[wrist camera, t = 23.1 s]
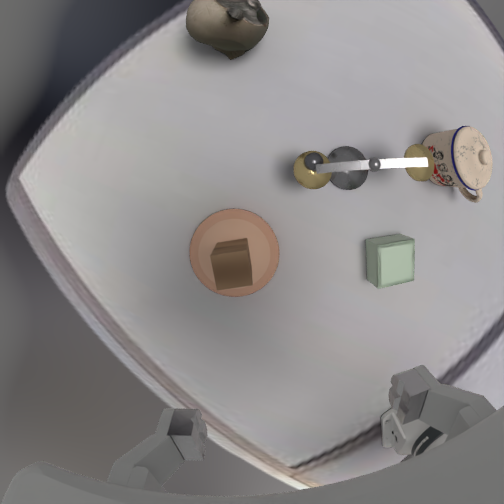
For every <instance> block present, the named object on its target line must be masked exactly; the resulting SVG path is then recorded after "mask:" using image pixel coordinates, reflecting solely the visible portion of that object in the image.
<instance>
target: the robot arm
mask: <svg viewBox="0 0 504 504" xmlns="http://www.w3.org/2000/svg"><path fill="white" fill-rule="evenodd" d="M391 383H392V385H393V386H392V387H391V388H390V389H389V402H390V404H391V406H392V408H391V409H390V410H389V411H387V412H386V413H385V414H383V415H382V417H381V429H382V446H383V447H384V448H392V447H394V449H395V451H396V452H397V454H399V455H413V456H414V457H413V458H410V459H408V460H406V461H403V462H401V463H398V464H395V465H393V466H390V467H387V468H385V469H382V470H379V471H376V472H373V473H370V474H366V475H363V476H360V477H356V478H353V479H349V480H345V481H341V482H337V483H333V484H329V485H324V486H319V487H314V488H308V489H303V490H297V491H290V492H282V493H273V494H263V495H249V496H197V495H182V494H171V493H168V492H167V491H166V490H165V489H164V488H163V487H162V485H163V484H164V483H165V482H166V481H167V480H168V479H169V478H170V477H171V476H172V474H174V472H175V471H176V470H177V469H178V468H179V467H180V466H181V465H182V464H183V463H184V460H204V456H205V450H206V448H205V446H204V443H205V442H206V441H207V427H206V424H205V421H203V420H202V419H201V417H202V414H201V412H200V409H168V408H165V409H164V410H163V411H162V414H161V417H160V420H159V423H158V426H157V429H156V432H155V435H150V436H149V437H148V438H146V439H145V440H144V441H142V442H141V443H140V444H138V445H137V446H136V447H134V448H133V449H132V450H130V451H129V452H128V453H126V454H125V455H123V456H122V457H121V458H119V459H118V460H116V461H115V462H114V464H113V467H112V469H111V472H110V474H109V477H108V479H107V482H105V481H101V480H97V479H94V478H90V477H87V476H83V475H80V474H77V473H74V472H71V471H68V470H66V469H63V468H60V467H57V466H55V465H52V464H50V463H47V462H44V461H39V462H36V463H34V464H32V465H30V466H28V467H26V468H24V469H22V470H20V471H19V472H17V474H16V475H15V476H14V478H13V480H12V482H11V483H10V485H9V487H8V489H7V492H6V494H5V496H4V498H3V501H2V503H1V504H504V406H502V407H501V408H500V409H498V410H496V409H495V408H494V407H493V406H492V405H491V404H490V402H489V401H488V400H487V399H486V398H485V397H484V396H482V395H479V394H475V393H472V392H469V391H465V390H462V389H459V388H456V387H452V386H449V385H446V384H441V383H439V382H438V381H437V380H436V379H435V377H434V376H433V375H432V374H431V373H430V372H429V370H428V369H427V368H426V367H425V366H424V365H420V366H418V367H415V368H413V369H410V370H407V371H404V372H401V373H398V374H395V375H393V376H392V378H391Z"/></svg>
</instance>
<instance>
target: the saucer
mask: <svg viewBox="0 0 504 504" xmlns="http://www.w3.org/2000/svg"><path fill="white" fill-rule="evenodd" d="M243 238H247V240H248V246H249V252H250V259H251V265H252V280H253V285H251V286H245V287H238V288H231V289H224V290H217V288H216V283H215V278H214V273H213V268H212V263H211V258H210V255H211V253H212V251H213V249H214V247H215V246H216V244H217V243H218V242H225V241H231V240H237V239H243ZM190 261H191V265H192V268H193V270H194V272H195V274H196V276H197V277H198V279H199V280H200V281H201V282H202V283H203V284H204V285H205V286H206V287H207V288H209V289H210V290H212V291H214V292H216V293H218V294H221V295H224V296H231V297H239V296H245V295H249V294H252V293H254V292H256V291H258V290H260V289H261V288H262V287H264V286H265V285H266V284H267V283H268V282H269V281H270V279H271V278H272V277H273V275H274V273H275V271H276V269H277V266H278V262H279V245H278V241H277V238H276V236H275V234H274V232H273V230H272V229H271V227H270V226H269V225H268V223H267V222H266V221H265V220H263V219H262V218H261V217H260V216H258V215H256V214H255V213H252V212H250V211H247V210H243V209H226V210H222V211H219V212H216V213H214V214H213V215H211V216H209V217H208V218H207V219H205V220H204V221H203V222H202V223H201V224H200V225H199V227H198V228H197V230H196V231H195V233H194V235H193V237H192V240H191V244H190Z"/></svg>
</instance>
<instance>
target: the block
mask: <svg viewBox="0 0 504 504" xmlns="http://www.w3.org/2000/svg"><path fill="white" fill-rule="evenodd" d="M210 258H211V263H212V268H213V273H214V278H215V283H216V288H217V290H224V289H231V288H238V287H245V286H251V285H253V280H252V265H251V259H250V252H249V246H248V240H247V238H243V239H237V240H231V241H225V242H218V243H217V244H216V246H215V247H214V249H213V251H212V253H211V255H210Z"/></svg>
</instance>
